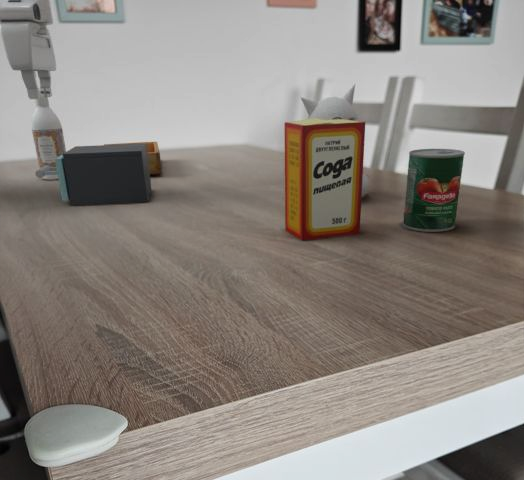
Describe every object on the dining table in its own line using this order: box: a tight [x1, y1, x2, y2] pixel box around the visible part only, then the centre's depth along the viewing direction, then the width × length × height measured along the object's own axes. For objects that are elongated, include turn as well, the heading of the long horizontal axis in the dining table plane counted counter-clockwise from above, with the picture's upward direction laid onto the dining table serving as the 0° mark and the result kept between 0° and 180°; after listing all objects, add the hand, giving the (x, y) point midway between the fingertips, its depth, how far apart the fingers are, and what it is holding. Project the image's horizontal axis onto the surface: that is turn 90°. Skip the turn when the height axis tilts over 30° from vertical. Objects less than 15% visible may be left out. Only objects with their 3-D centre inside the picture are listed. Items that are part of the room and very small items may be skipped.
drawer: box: [35, 155, 71, 202], centre depth 111 cm, size 18×11×8 cm, turn 96°
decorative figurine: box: [300, 83, 371, 199], centre depth 103 cm, size 15×15×20 cm
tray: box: [103, 141, 163, 175], centre depth 147 cm, size 31×15×6 cm, turn 11°
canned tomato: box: [402, 148, 466, 233], centre depth 84 cm, size 8×8×11 cm
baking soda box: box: [284, 118, 366, 241], centre depth 81 cm, size 10×6×16 cm
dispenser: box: [63, 144, 152, 207], centre depth 112 cm, size 15×13×10 cm
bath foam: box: [31, 89, 67, 181], centre depth 134 cm, size 7×7×20 cm
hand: (41, 98), depth 104 cm, fingers open, 8 cm apart
